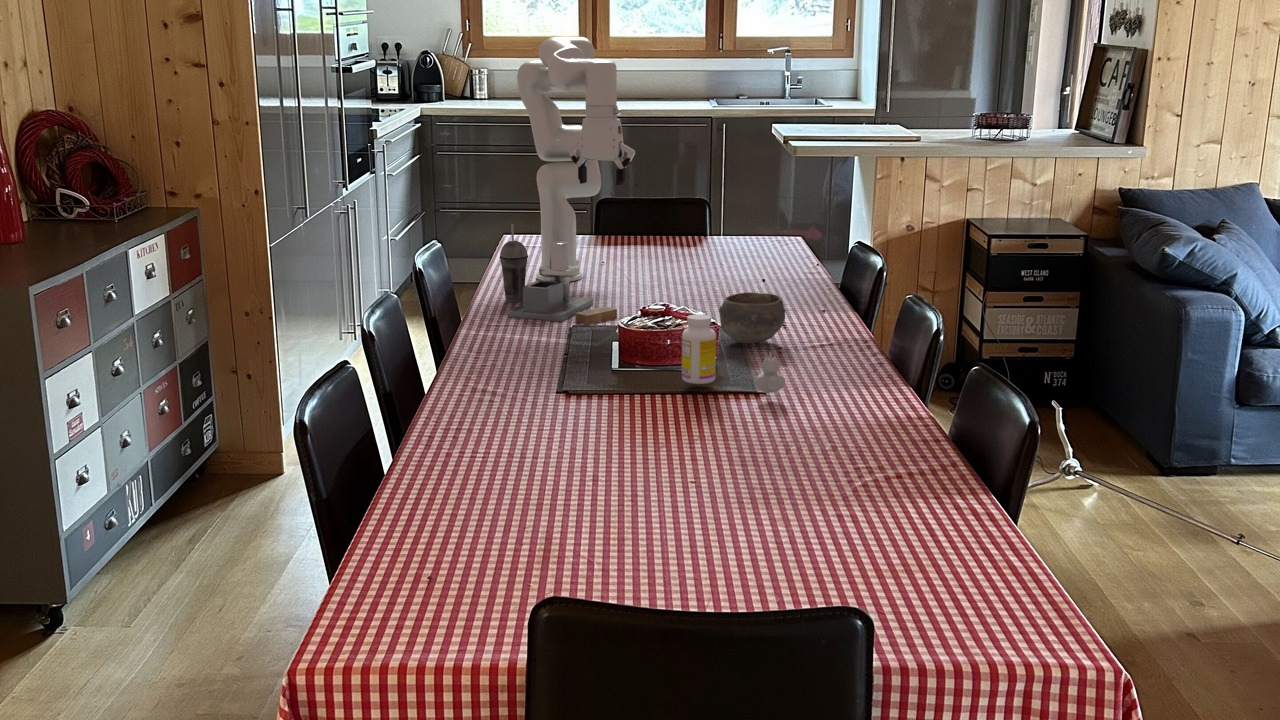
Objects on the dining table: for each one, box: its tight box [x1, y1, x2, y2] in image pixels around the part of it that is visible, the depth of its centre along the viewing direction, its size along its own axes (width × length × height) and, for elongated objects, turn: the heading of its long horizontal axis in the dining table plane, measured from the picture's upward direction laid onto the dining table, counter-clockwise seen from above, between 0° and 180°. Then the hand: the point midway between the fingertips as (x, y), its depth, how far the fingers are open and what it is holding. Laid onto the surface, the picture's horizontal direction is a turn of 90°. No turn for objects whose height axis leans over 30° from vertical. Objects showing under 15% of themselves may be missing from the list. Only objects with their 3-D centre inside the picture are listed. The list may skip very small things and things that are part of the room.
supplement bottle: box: [681, 313, 717, 385], centre depth 238 cm, size 7×7×13 cm
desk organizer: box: [507, 242, 594, 323], centre depth 297 cm, size 20×14×16 cm
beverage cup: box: [499, 223, 529, 304], centre depth 307 cm, size 7×7×20 cm
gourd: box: [755, 350, 786, 394], centre depth 231 cm, size 5×7×8 cm
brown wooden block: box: [574, 305, 618, 325], centre depth 290 cm, size 4×2×10 cm
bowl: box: [718, 291, 786, 344], centre depth 269 cm, size 14×15×10 cm
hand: (601, 183), depth 299 cm, fingers open, 9 cm apart
